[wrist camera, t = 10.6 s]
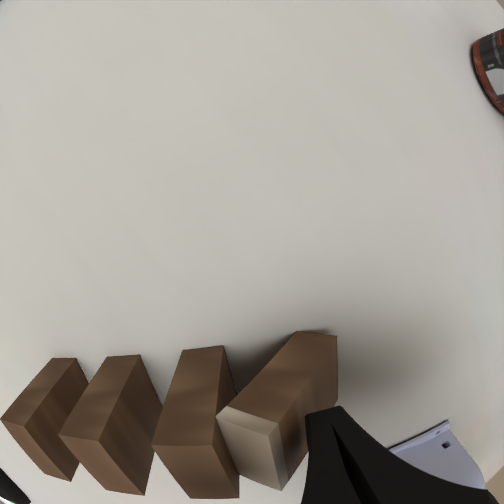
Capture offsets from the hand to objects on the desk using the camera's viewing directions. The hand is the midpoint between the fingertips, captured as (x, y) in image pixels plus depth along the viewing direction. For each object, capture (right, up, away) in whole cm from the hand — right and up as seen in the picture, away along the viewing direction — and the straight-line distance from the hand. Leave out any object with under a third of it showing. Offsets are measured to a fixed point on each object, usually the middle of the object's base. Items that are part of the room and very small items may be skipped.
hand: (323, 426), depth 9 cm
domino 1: (-13, -1, +4) cm, 14 cm away
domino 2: (-9, -1, +4) cm, 10 cm away
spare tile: (+1, +1, +4) cm, 4 cm away
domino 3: (-5, 0, +4) cm, 6 cm away
